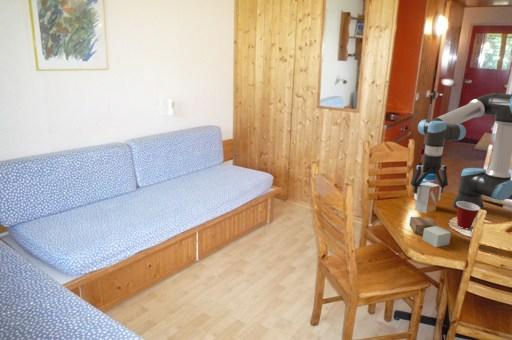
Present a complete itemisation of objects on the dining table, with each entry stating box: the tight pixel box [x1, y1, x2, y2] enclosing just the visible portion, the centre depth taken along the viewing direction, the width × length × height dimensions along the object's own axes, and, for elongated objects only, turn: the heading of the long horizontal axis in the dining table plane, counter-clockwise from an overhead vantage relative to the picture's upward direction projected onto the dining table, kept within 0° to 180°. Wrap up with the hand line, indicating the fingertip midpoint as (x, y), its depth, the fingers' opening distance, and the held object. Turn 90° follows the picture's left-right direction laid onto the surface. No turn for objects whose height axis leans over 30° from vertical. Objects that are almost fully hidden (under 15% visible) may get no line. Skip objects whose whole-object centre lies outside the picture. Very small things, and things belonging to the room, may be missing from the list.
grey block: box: [422, 225, 452, 248], centre depth 176 cm, size 8×8×6 cm
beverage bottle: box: [421, 172, 437, 184], centre depth 217 cm, size 8×8×20 cm
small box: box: [414, 182, 440, 214], centre depth 185 cm, size 8×6×13 cm
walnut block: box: [409, 216, 438, 235], centre depth 189 cm, size 10×10×5 cm
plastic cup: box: [456, 201, 480, 229], centre depth 192 cm, size 11×11×12 cm
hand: (426, 199), depth 185 cm, fingers closed on small box, 10 cm apart
